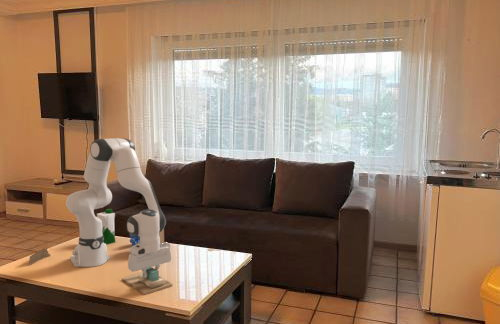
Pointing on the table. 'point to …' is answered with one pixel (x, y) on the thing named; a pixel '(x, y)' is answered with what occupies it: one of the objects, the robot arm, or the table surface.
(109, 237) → the milk carton
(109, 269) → the table surface
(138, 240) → the grapes
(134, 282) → the wooden board
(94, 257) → the robot arm
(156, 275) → the block
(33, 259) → the wood plank
